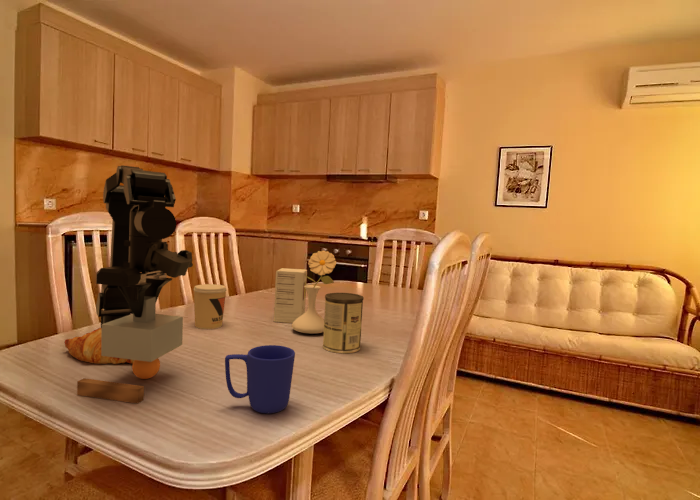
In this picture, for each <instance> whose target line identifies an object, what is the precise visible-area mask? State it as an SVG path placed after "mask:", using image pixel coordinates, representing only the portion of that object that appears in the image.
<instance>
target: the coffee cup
mask: <svg viewBox="0 0 700 500" xmlns="http://www.w3.org/2000/svg"><path fill="white" fill-rule="evenodd" d="M226 293H227V288H226V286H225V285H223V284H215V283H214V284H213V283H212V284H211V283H205V284H204V283H203V284H197V285H194V288H193V307H194V310H193V311H194V326H195V328H196V329H198V330H199V329H200V330H215V329H220V328H221V327H222V326H223V320H224V312H225V303H226Z"/></svg>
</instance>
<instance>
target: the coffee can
mask: <svg viewBox="0 0 700 500" xmlns="http://www.w3.org/2000/svg"><path fill="white" fill-rule="evenodd" d="M324 299H325V300H324V301H325V302H324V318H323V319H324V332H323V338H322V339H323V341H322V349H323V350H326V351H328V352H330V353H336V354H353V353H356V352H358V351H360V350H361V339H362V321H363V303H364V296H363V295H361V294H358V293H350V292H329V293H326V294H325V295H324Z"/></svg>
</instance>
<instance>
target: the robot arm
mask: <svg viewBox="0 0 700 500" xmlns="http://www.w3.org/2000/svg"><path fill="white" fill-rule="evenodd" d="M122 184H123V185H122ZM176 200H177V199H176V195H175V192H174V188H173V185H172V183H171V180H170V179H169V178H168V175H167V174H166V173H165V172H161V171H152V170H143V168H140V167H139V166H130V165H117V166H116V171H115V173H113V174H112V175H111V176H109V177H107V178H106V179H105V182H104V186H103V191H102V201H103V204H105V209H106V211H107V213H109V216H110V218H111V219H112V221H111V222H112V225H111V238H110V239H111V242H110V258H109V266H107V267H100V268H99V269H98V270H97V271H96V272H95V274H96V275H95V276H96V277H95V280H96V281H95V283H96V284H97V285H101V289H100V292H98V294H97V297H96V298H97V299H96V305H95V308H96V309H95V310H96V312H95V313H96V315H97V317H98V318H100V328H102V324H104V323H107V322H110V321H113V320H116V319H119V318H122V317H125V316H128V315H131V314H134V315H135V317H139V318H140V317H141V316H142V312H143V304H144V296H150V297H156V303H157V301H158V299H159V297H160V293H161V291H162V289H163V287H164V286H165V285H167V284H168V283H170V282H171V281H172V280H173V278H175V279H176V278H178V277H181V276H182V277H184V276H186V274H187V271H188V269H189V268H192V267H194V266H193V265H194V264H193V253H192V251H190V250H188V249H181V250H180V251H179V252H177V251H171V250H169V244H168V242H167V241H163V240H165V239H167V238H169V237H170V236H172V235H173V233H175V231H176V227H177V219H176V217H175V215H174V213H173V212H172V211H171V210H170V209H168V208H174V207H175V203H176ZM167 276H168V277H167Z"/></svg>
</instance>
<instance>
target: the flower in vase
mask: <svg viewBox="0 0 700 500" xmlns="http://www.w3.org/2000/svg"><path fill="white" fill-rule="evenodd" d="M307 264H308V267H309V268H310V269H309V270H310V272H312V273H314V274H316V275H318V276H320V277H319V279H318V280H317V281H315V280H314V279H313V278H311V277H310V276H308V275H307V276H306V277H307V279H309V280H310V281H312V282H314V283H315V284H314V285H313V284H310V285H309V284H306V286H304V287H305V289H306V295H307V307H306V308H307V309H305V313H304V314H302V315H301V316H300V317H298V318H297V319H296V320H295V321H294V322H293V323H291V328H292V329H293V330H294V331H296V332H299V333H302V334H308V335H309V334H311V335H312V334H321V333H324V318H323V317H322V316H321V315H320V314H319V313H318V312H317V310H316V301H317V295H318V292H319V291H320V290H321V288H322V287H321V286H320V285H317V284H319V282H320V280H321V282H322V283H323V284H324V285H330V284H334V283H335V282H334V280H333V279H332V278H331V276H329V275H326V274H331V273H332V272H333V271H334V269H335V268H336V266H337V261H336V258H335V255H334V254H333V253H332V252H329V251H327V250H321V251H320V250H317V252H314V253H312V255H311V256H310V258H309V259H308V263H307Z"/></svg>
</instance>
